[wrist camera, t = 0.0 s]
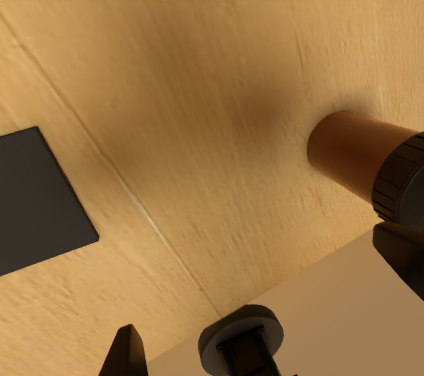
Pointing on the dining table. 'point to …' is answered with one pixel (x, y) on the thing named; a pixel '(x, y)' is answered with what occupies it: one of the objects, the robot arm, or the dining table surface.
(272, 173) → the dining table surface
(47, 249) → the rubber mat
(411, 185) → the jar lid
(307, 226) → the dining table surface
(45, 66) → the dining table surface
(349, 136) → the jam jar
